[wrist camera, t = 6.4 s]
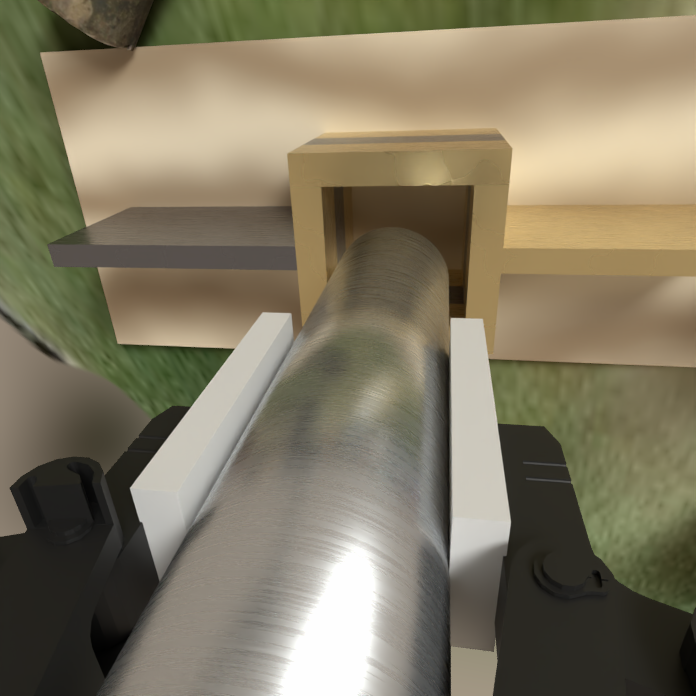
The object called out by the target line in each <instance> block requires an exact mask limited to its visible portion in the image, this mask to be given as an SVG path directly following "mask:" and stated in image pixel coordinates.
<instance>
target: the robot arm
mask: <svg viewBox="0 0 696 696" xmlns="http://www.w3.org/2000/svg"><path fill="white" fill-rule="evenodd" d="M293 343H294V336H293V326H292V315H291V313H267V312H263V313H262V314H261V315H260V317H259V318H258V319H257V321H256V322H255V323H254V325H253V326H252V327H251V328H250V330H249V331H248V332H247V334H246V335H245V336H244V338H243V339H242V340H241V342H240V343H239V344H238V346H237V347H236V348H235V350H234V351H233V352H232V354H231V355H230V356H229V358H228V359H227V360H226V362H225V363H224V364H223V366H222V367H221V368H220V370H219V371H218V372H217V373H216V375H215V376H214V377H213V379H212V380H211V381H210V383H209V384H208V385H207V387H206V388H205V389H204V391H203V392H202V393H201V395H200V396H199V397H198V399H197V400H196V401H195V403H194V404H193V405H192V407H184V406H172V407H170V408H169V409H167V410H166V411H164V412H163V413H161V414H159V415H158V416H156V417H155V418H153V419H152V420H151V421H150V422H149V424H148V425H147V426H146V427H145V428H144V430H143V431H142V432H141V433H140V435H139V438H136V439H135V440H134V441H133V443H132V444H131V445H130V446H129V447H128V451H127V452H124V453H123V455H122V456H121V457H120V458H119V459H118V461H117V462H116V463H115V464H114V466H113V467H112V468H111V469H110V470H109V471H108V472H107V474H106V475H105V476H104V473H103V470H102V468H101V466H100V464H99V463H98V462H96V461H94V460H92V459H90V458H84V457H69V458H63V459H57V460H54V461H51V462H49V463H46V464H43V465H40V466H38V467H36V468H35V469H33V470H31V471H30V472H28V473H26V474H25V475H23V476H22V477H20V478H19V479H18V480H17V482H15V483H14V484H13V485H12V486H11V487H10V490H11V492H12V495H13V497H14V499H15V501H16V504H17V506H18V509H19V511H20V513H21V515H22V518H23V520H24V522H25V525H26V527H27V531H26V532H25V533H22V534H16V535H10V536H4V537H0V696H96V695H97V693H98V691H99V689H100V687H101V686H102V684H103V682H104V680H105V678H106V677H107V675H108V673H109V671H110V670H111V668H112V666H113V664H114V662H115V661H116V659H117V657H118V655H119V654H120V652H121V650H122V648H123V646H124V645H125V643H126V641H127V639H128V637H129V636H130V634H131V632H132V630H133V629H134V627H135V625H136V623H137V621H138V620H139V618H140V616H141V614H142V613H143V611H144V609H145V607H146V605H147V604H148V602H149V600H150V598H151V596H152V595H153V593H154V591H155V589H156V588H157V586H158V584H159V582H160V580H161V579H162V577H163V575H164V573H165V571H166V570H167V568H168V566H169V564H170V563H171V561H172V559H173V557H174V555H175V554H176V552H177V550H178V548H179V547H180V545H181V543H182V541H183V539H184V538H185V536H186V534H187V532H188V530H189V529H190V527H191V525H192V523H193V522H194V520H195V518H196V516H197V514H198V513H199V511H200V509H201V507H202V506H203V504H204V502H205V500H206V498H207V497H208V495H209V493H210V491H211V489H212V488H213V486H214V484H215V482H216V481H217V479H218V477H219V475H220V473H221V472H222V470H223V468H224V466H225V464H226V463H227V461H228V459H229V457H230V456H231V454H232V452H233V450H234V448H235V447H236V445H237V443H238V441H239V440H240V438H241V436H242V434H243V432H244V431H245V429H246V427H247V425H248V423H249V422H250V420H251V418H252V416H253V415H254V413H255V411H256V409H257V407H258V406H259V404H260V402H261V400H262V399H263V397H264V395H265V393H266V391H267V390H268V388H269V386H270V384H271V382H272V381H273V379H274V377H275V375H276V374H277V372H278V370H279V368H280V366H281V365H282V363H283V361H284V359H285V358H286V356H287V354H288V352H289V350H290V349H291V347H292V345H293ZM449 575H450V630H451V646H453V647H461V648H470V649H478V650H485V651H492V652H494V646H495V638H496V646H497V657H498V658H497V659H498V663H497V670H496V677H495V684H494V692H493V696H696V608H695V610H694V613H693V614H691V613H688V612H685V611H682V610H680V609H677V608H674V607H671V606H669V605H666V604H663V603H660V602H657V601H655V600H652V599H649V598H647V597H645V596H643V595H640V594H638V593H636V592H634V591H632V590H630V589H629V588H627V587H626V586H624V585H623V584H621V583H619V582H618V581H617V580H616V579H614V575H613V574H612V572H611V571H610V570H609V569H608V568H607V566H606V565H605V564H604V563H603V561H602V560H601V559H600V558H598V557H597V556H595V555H594V553H593V550H592V548H591V545H590V542H589V539H588V535H587V532H586V529H585V525H584V522H583V519H582V515H581V512H580V509H579V505H578V502H577V498H576V495H575V492H574V488H573V485H572V484H571V478H570V475H569V472H568V468H567V467H566V462H565V458H564V455H563V451H562V448H561V445H560V443H559V442H558V441H557V440H556V439H555V438H554V437H553V436H552V435H551V434H550V432H549V431H548V430H547V429H546V428H545V427H543V426H526V425H510V424H497V417H496V410H495V403H494V396H493V389H492V381H491V374H490V367H489V360H488V352H487V345H486V338H485V331H484V323H483V319H471V318H451V322H450V341H449Z"/></svg>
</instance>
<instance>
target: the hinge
mask: <svg viewBox="0 0 696 696" xmlns="http://www.w3.org/2000/svg"><path fill="white" fill-rule="evenodd" d="M512 151H513V149H512V147H511V146H510V145H509V144H508V142H507V141H506V140H505V138H504V137H503V136H502V135H501V133H500V132H499V131H498V129H497V128H478V129H441V130H404V131H367V132H330V133H323V134H322V135H320V136H318V137H316V138H314V139H313V140H311V141H309V142H307V143H305V144H303V145H302V146H300V147H298V148H296V149H294V150H293V151H291V152H289V153H287V159H288V170H289V182H290V193H291V204H292V206H218V207H130V208H128V209H125V210H123V211H121V212H119V213H116V214H114V215H112V216H110V217H107V218H105V219H103V220H101V221H99V222H96V223H94V224H92V225H90V226H87V227H85V228H83V229H81V230H78V231H76V232H74V233H72V234H70V235H67V236H65V237H63V238H61V239H58V240H56V241H54V242H52V243H49V244H47V245H48V248H49V251H50V254H51V258H52V261H53V264H54V267H112V268H176V269H239V270H297V272H298V283H299V295H300V306H301V317H302V327H303V325H304V324H305V322H306V320H307V318H308V316H309V315H310V313H311V311H312V309H313V308H314V306H315V304H316V302H317V300H318V299H319V297H320V295H321V293H322V292H323V290H324V288H325V286H326V284H327V283H328V281H329V279H330V277H331V275H332V274H333V272H334V270H335V268H336V267H337V265H338V263H339V261H340V259H341V258H342V256H343V254H344V253H345V251H346V249H347V248H348V247H349V246H350V245H351V244H352V243H353V242H354V238H353V211H352V186H441V185H466V197H465V214H464V231H463V248H462V265H461V270H455V269H448V275H449V341H450V322H451V318H471V319H483V323H484V331H485V338H486V345H487V352H488V354H493V351H494V340H495V330H496V319H497V309H498V298H499V288H500V277H501V274H559V275H622V276H686V277H696V204H673V205H507V203H508V193H509V182H510V172H511V161H512Z"/></svg>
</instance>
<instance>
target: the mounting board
mask: <svg viewBox="0 0 696 696" xmlns="http://www.w3.org/2000/svg"><path fill="white" fill-rule="evenodd" d="M40 55H41V59H42V62H43V66H44V70H45V73H46V77H47V81H48V85H49V88H50V92H51V96H52V100H53V103H54V107H55V111H56V115H57V118H58V122H59V126H60V129H61V133H62V137H63V141H64V144H65V148H66V152H67V156H68V159H69V163H70V167H71V170H72V174H73V178H74V182H75V185H76V189H77V193H78V197H79V200H80V204H81V208H82V212H83V215H84V219H85V223H86V226H90V225H92V224H94V223H96V222H99V221H101V220H103V219H105V218H107V217H110V216H112V215H114V214H116V213H119V212H121V211H123V210H125V209H128V208H130V207H218V206H292V204H291V193H290V182H289V170H288V159H287V153H289V152H291V151H293V150H294V149H296V148H298V147H300V146H302V145H303V144H305V143H307V142H309V141H311V140H313V139H314V138H316V137H318V136H320V135H322V134H323V133H330V132H367V131H404V130H441V129H478V128H497V129H498V131H499V132H500V133H501V135H502V136H503V137H504V138H505V140H506V141H507V142H508V144H509V145H510V146H511V147H512V149H513V151H512V161H511V172H510V182H509V193H508V203H507V205H673V204H696V15H692V16H674V17H657V18H639V19H622V20H604V21H587V22H569V23H551V24H534V25H516V26H499V27H481V28H464V29H446V30H429V31H411V32H393V33H376V34H358V35H341V36H323V37H306V38H288V39H270V40H253V41H235V42H218V43H200V44H183V45H165V46H147V47H135V48H134V50H133V51H131V50H127V48H112V49H95V50H77V51H60V52H42V53H40ZM465 197H466V185H441V186H352V211H353V238H354V241H355V240H356V239H357V238H359V237H360V236H362V235H363V234H365V233H367V232H369V231H372V230H375V229H379V228H386V227H398V228H404V229H408V230H411V231H414V232H416V233H418V234H420V235H422V236H424V237H425V238H427V239H428V240H429V241H430V242H431V243H432V244H434V246H435V247H436V248H437V249H438V250H439V252H440V253H441V255H442V256H443V259H444V261H445V263H446V266H447V269H455V270H461V265H462V248H463V231H464V214H465ZM97 268H98V271H99V275H100V279H101V282H102V286H103V290H104V294H105V297H106V301H107V305H108V309H109V312H110V316H111V320H112V323H113V327H114V331H115V335H116V338H117V342H118V344H135V345H160V346H184V347H209V348H233V349H235V348H236V347H237V346H238V344H239V343H240V342H241V340H242V339H243V338H244V336H245V335H246V334H247V332H248V331H249V330H250V328H251V327H252V326H253V325H254V323H255V322H256V321H257V319H258V318H259V317H260V315H261V314H262V313H263V312H267V313H291V315H292V326H293V336H294V341H295V340H296V338H297V336H298V334H299V333H300V331H301V329H302V317H301V306H300V295H299V283H298V272H297V270H239V269H176V268H112V267H97ZM488 359H502V360H527V361H551V362H576V363H600V364H625V365H649V366H674V367H696V277H686V276H622V275H559V274H501V277H500V288H499V298H498V309H497V319H496V330H495V340H494V351H493V354H488Z"/></svg>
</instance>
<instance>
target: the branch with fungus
mask: <svg viewBox="0 0 696 696" xmlns="http://www.w3.org/2000/svg"><path fill="white" fill-rule="evenodd" d="M38 1H39V2H40V3H42V4H43V5H44V6H45V7H47V8H48V9H49V10H51V11H52V12H54V13H56V14H57V15H59V16H61V17H62V18H63V19H65V20H66V21H67V22H68V23H69V24H71V25H72V26H74V27H76V28H77V29H79V30H81V31H82V32H84V33H85V34H87V35H88V36H90V37H92V38H94V39H96V40H98V41H100V42H102V43H104V44H106V45H110V46H113V47H117V48H124V47H125V46H127V45H128V46H127V50H131V51H133V50H134V48H135V46H136V44H137V42H138V39H139V37H140V34H141V32H142V29H143V27H144V24H145V21H146V19H147V16H148V14H149V11H150V9H151V6H152V3H153V1H154V0H38Z"/></svg>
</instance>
